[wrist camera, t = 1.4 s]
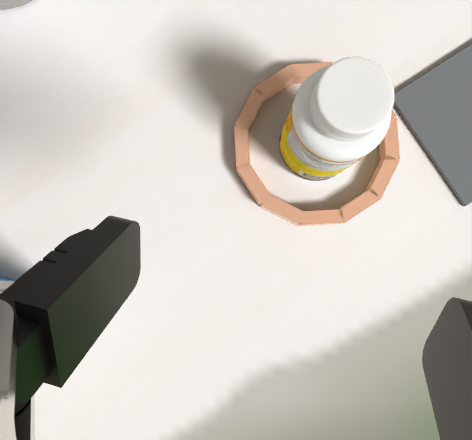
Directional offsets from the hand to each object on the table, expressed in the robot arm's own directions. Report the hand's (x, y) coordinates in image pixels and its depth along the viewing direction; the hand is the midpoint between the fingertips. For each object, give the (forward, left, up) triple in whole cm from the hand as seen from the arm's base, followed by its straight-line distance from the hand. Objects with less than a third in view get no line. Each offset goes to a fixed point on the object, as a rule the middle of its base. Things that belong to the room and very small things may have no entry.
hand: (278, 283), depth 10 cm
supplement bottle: (-4, +9, -19) cm, 21 cm away
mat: (+1, +21, -19) cm, 28 cm away
